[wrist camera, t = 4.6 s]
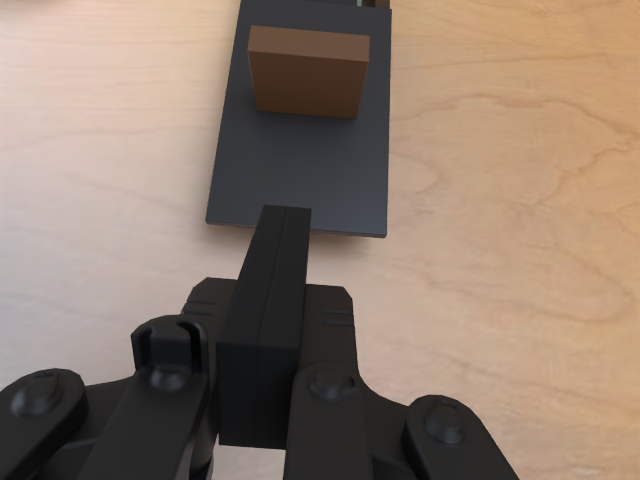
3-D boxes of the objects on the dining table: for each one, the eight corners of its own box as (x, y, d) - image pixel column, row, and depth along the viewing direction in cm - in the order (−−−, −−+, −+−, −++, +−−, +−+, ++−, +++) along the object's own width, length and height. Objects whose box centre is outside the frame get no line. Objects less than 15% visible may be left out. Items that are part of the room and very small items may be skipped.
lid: (384, 238, 24) (408, 198, 19) (207, 224, 24) (181, 180, 19) (390, 15, 30) (409, -65, 24) (242, 2, 29) (230, -82, 24)
